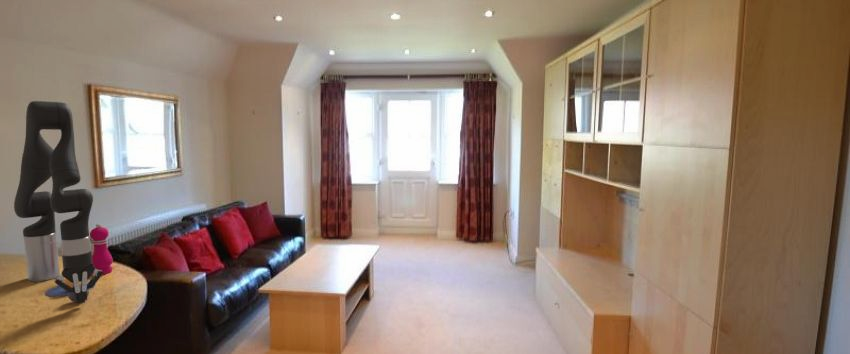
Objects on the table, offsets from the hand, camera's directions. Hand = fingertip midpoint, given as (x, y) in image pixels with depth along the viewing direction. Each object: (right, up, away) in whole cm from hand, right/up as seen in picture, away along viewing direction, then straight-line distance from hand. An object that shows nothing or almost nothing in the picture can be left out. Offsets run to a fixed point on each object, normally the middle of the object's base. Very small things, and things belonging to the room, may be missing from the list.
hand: (81, 302), depth 142 cm
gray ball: (-4, +2, +4) cm, 6 cm away
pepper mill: (-16, +3, +31) cm, 35 cm away
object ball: (-13, +3, +12) cm, 18 cm away
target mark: (-15, +1, +15) cm, 21 cm away
